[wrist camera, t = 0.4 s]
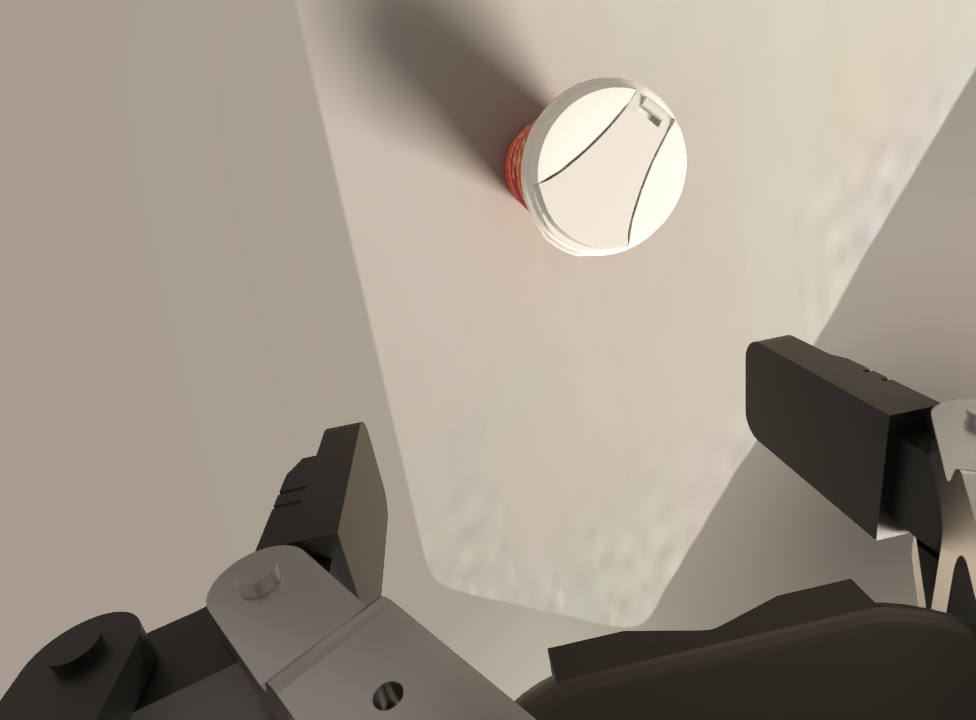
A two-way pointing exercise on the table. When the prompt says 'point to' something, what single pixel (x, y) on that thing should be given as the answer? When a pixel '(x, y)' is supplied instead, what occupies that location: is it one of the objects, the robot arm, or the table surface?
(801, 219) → the table surface
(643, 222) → the paper cup
